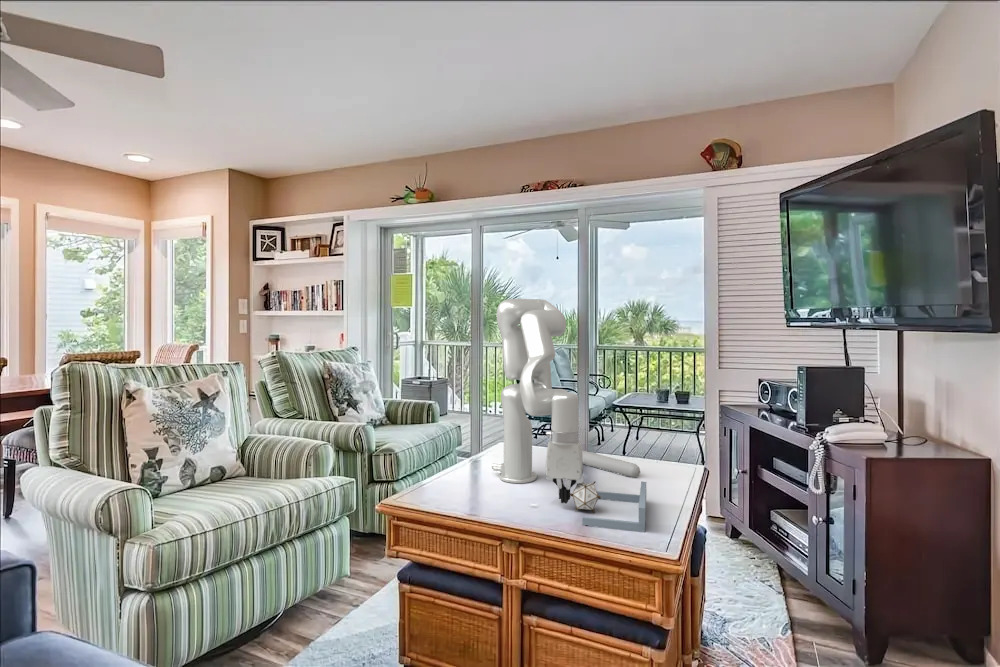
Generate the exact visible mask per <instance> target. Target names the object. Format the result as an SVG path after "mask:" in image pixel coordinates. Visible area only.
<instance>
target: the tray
mask: <svg viewBox="0 0 1000 667" xmlns="http://www.w3.org/2000/svg"><path fill="white" fill-rule="evenodd" d="M639 490H640V491H639V494H635V493H623V492H614V491H613V492H611V491H598V490H596V491H597V494H598V496H601V497H600V499H599V500H604V499H610V500H609V501H615V500H619V501H618V502H625V501H626V503H638V521H632V520H630V521H629V520H622V519H621V520H620V519H610V518H603V517H602V518H601V517H592V516H582V524H581V525H582V526H583V525H589V526H588V527H593V526H597V527H596V528H602V527H604V529H611V528H612V529H611V530H620V531H621V530H622V531H632V532H639V533H645V531H646V516H647V481H643V480H642V481H640V489H639Z"/></svg>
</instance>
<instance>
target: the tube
mask: <svg viewBox="0 0 1000 667" xmlns="http://www.w3.org/2000/svg"><path fill="white" fill-rule="evenodd" d="M582 454H583V465H584V464H585V466H588V465H589V466H588V467H591V466H593V467H592V468H595V467H597V468H596V469H598V468H601V469H600V470H602V469H604V470H603V471H606V470H608V471H607V472H609V471H612V472H611V473H613V472H615V473H614V474H617V473H619V474H618V475H620V474H622V475H621V476H624V475H625V476H624V477H627V478H631V477H632V478H631V479H635V478H638V477H639V476H640V474H641V468H640V466H638V464H637V463H633V462H629V461H625V460H622V459H618V458H614V457H610V456H606V455H603V454H598V453H595V452H591V451H586V450H585V449H582Z"/></svg>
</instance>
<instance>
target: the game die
mask: <svg viewBox="0 0 1000 667" xmlns="http://www.w3.org/2000/svg"><path fill="white" fill-rule="evenodd" d="M596 482H597V481H596V480H594V481H593V483H591V482H583V483H578V484H575V485H576V486H575V487H574V489H573V492H570V497H572V499H573V501H574V504H575V512H577V511H578V510H585V511H586V510H587V511H592V512H593V513H594V514H595V512H596V511H595V507H596V504H597V502H598V500H601V499H600V497H601V496H598V494H597V491H598V490H597V488H596V486H595V484H596ZM598 498H599V499H598Z"/></svg>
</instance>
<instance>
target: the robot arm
mask: <svg viewBox="0 0 1000 667" xmlns="http://www.w3.org/2000/svg"><path fill="white" fill-rule="evenodd" d="M496 322H497V326H498V331H499V334H500V336H501V342H502V358H503V371H504V372H503V373H504V376H505V377H506V378H507V379H508V380H513V381H516V380H517V381H518V380H519V383H513V384H509V385H506V386H505V387H503V388H502V390H501V393H500V402H501V406H502V408H501V409H502V416H503V463H501V464H500V463H499V464H498V463H492V465H491V469H492V470H493V471H494V472H497V471H498V472H499V474H498V478H499V480H501V481H503V482H506V483H511V484H525V483H531V482H534V481H536V480H537V474H536V473H535V472H534V471H533V425H532V423H531V420H530V419H529V417H528V416H527V414H528V415H530V416H532V417H541V416H551V430H550V431H546V434H545V436H546V437H549V438H550V440H549V441H548V443H547V448H546V456H545V457H546V458H545V475H546V476H545V479H546V480H547V481H550V482H553V483H554V485H555V486H556V487H557V489H558V499H559V500H560V504H565V505H567V504H568V502H569V501H570V500H571V495H570V493H571V489H572V488H573V486H575V485H577V484H578V483H585V482H584V481H585V478H584V464H583V454H582V450H583V447H582V443H581V441H579V407H580V406H579V397H578V395H577V394H576V393H574V392H569V391H568V390H566V389H563V388H553V387H552V386H553V385H552V371H551V370H552V369H551V363H552V361H553V360H554V359H555V358H556V350H555V347H554V341H553V338H552V337H561V336H563V335H564V333H565V331H566V330H567V322H566V318H565V316H564V314H563V312H562V311H561V310H560V309H559V308H557V307H556V306H554V304H552V303H551V302H549V301H548V300H545V299H538V298H537V299H534V298H509V299H505V300H503V301H501V302H500V303H499V304H498V306H497V310H496ZM519 325H520V326H519ZM564 480H566V485H565V483H564Z"/></svg>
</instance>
